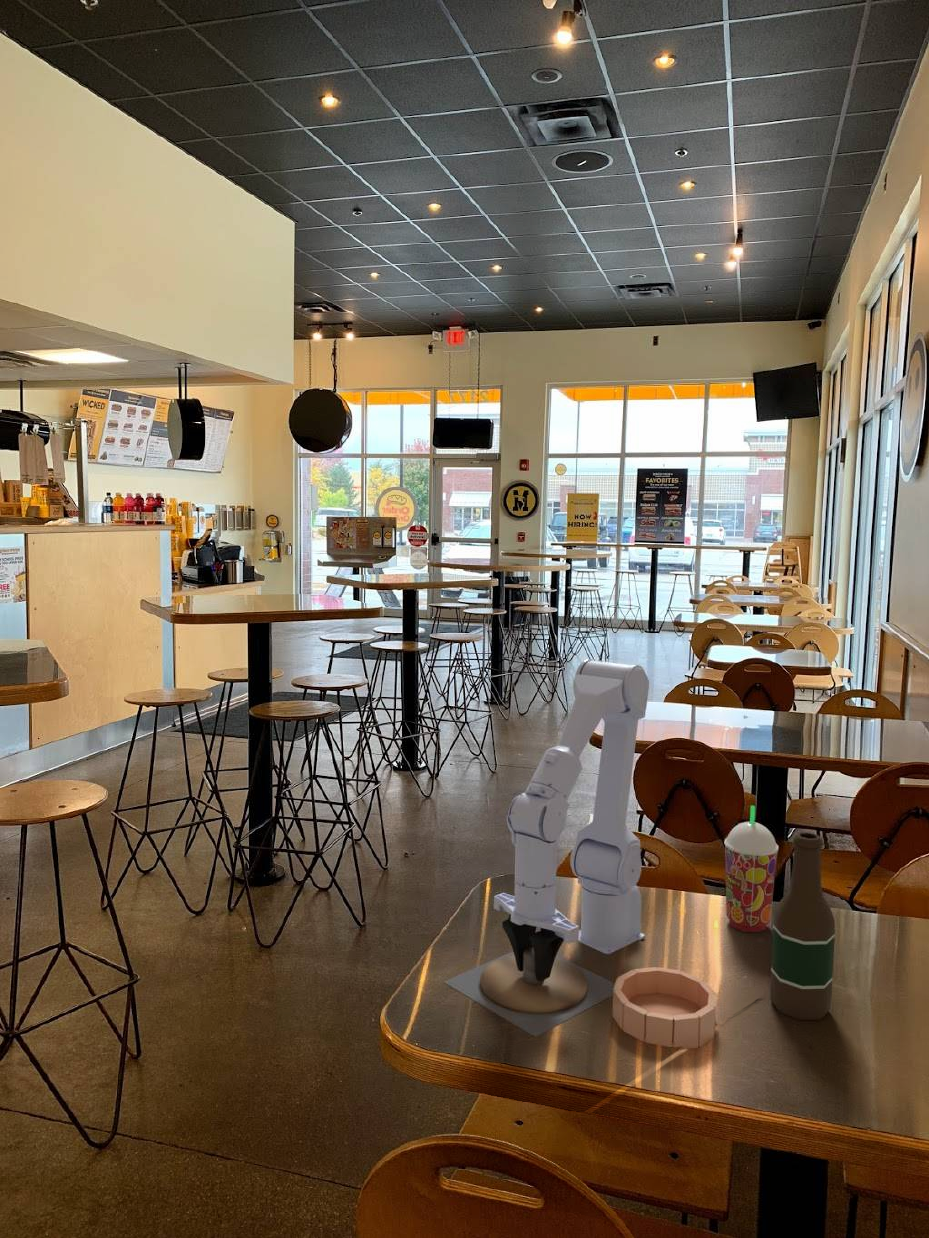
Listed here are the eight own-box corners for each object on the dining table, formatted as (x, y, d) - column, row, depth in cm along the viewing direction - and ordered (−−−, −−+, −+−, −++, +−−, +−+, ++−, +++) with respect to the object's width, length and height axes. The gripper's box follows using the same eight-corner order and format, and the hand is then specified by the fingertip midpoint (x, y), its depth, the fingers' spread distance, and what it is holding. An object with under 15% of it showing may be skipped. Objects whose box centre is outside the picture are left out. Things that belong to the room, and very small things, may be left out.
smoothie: (715, 913, 151) (720, 797, 148) (765, 914, 150) (771, 798, 148) (728, 936, 142) (733, 814, 140) (781, 937, 142) (787, 815, 140)
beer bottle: (829, 997, 124) (837, 829, 122) (832, 1026, 117) (841, 848, 114) (769, 987, 127) (777, 822, 124) (769, 1015, 119) (777, 841, 117)
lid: (532, 949, 136) (532, 919, 136) (609, 987, 125) (610, 954, 125) (458, 982, 126) (458, 949, 126) (535, 1026, 115) (535, 991, 115)
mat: (531, 946, 138) (531, 942, 138) (624, 991, 125) (624, 988, 125) (443, 985, 126) (443, 981, 126) (535, 1040, 113) (535, 1036, 113)
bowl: (653, 985, 127) (654, 958, 127) (734, 1023, 117) (735, 994, 117) (593, 1018, 118) (594, 989, 118) (676, 1062, 109) (677, 1031, 108)
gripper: (478, 871, 127) (477, 963, 128) (554, 904, 116) (552, 1004, 118) (514, 859, 132) (512, 948, 133) (590, 890, 121) (587, 986, 122)
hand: (533, 973), depth 126 cm, fingers open, 3 cm apart
